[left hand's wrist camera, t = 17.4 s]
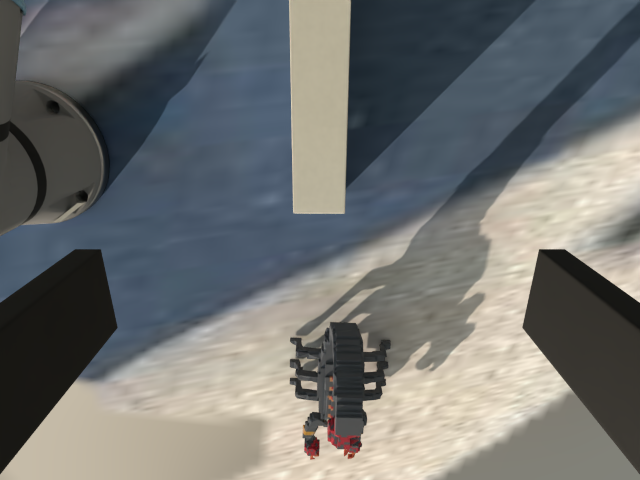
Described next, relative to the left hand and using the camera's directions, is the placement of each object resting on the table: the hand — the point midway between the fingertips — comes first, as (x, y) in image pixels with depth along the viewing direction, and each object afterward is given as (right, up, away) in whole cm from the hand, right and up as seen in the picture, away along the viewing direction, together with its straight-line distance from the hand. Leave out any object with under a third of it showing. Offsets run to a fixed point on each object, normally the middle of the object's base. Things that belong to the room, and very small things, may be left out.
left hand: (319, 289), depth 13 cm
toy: (+2, -16, +45) cm, 48 cm away
